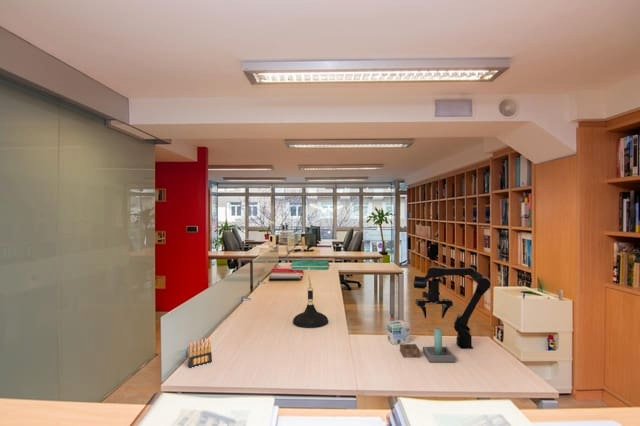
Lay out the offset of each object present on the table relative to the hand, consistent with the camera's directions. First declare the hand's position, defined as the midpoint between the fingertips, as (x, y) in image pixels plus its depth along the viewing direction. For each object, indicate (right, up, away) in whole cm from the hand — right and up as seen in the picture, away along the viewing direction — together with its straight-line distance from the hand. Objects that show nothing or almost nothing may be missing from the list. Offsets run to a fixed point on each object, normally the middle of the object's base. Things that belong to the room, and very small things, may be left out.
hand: (433, 318), depth 190 cm
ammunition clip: (-118, -14, -26) cm, 122 cm away
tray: (-4, -13, -20) cm, 24 cm away
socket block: (-17, -13, -16) cm, 27 cm away
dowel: (-4, -13, -20) cm, 24 cm away
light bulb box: (-19, -14, +1) cm, 23 cm away
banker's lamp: (-68, -14, +36) cm, 78 cm away
